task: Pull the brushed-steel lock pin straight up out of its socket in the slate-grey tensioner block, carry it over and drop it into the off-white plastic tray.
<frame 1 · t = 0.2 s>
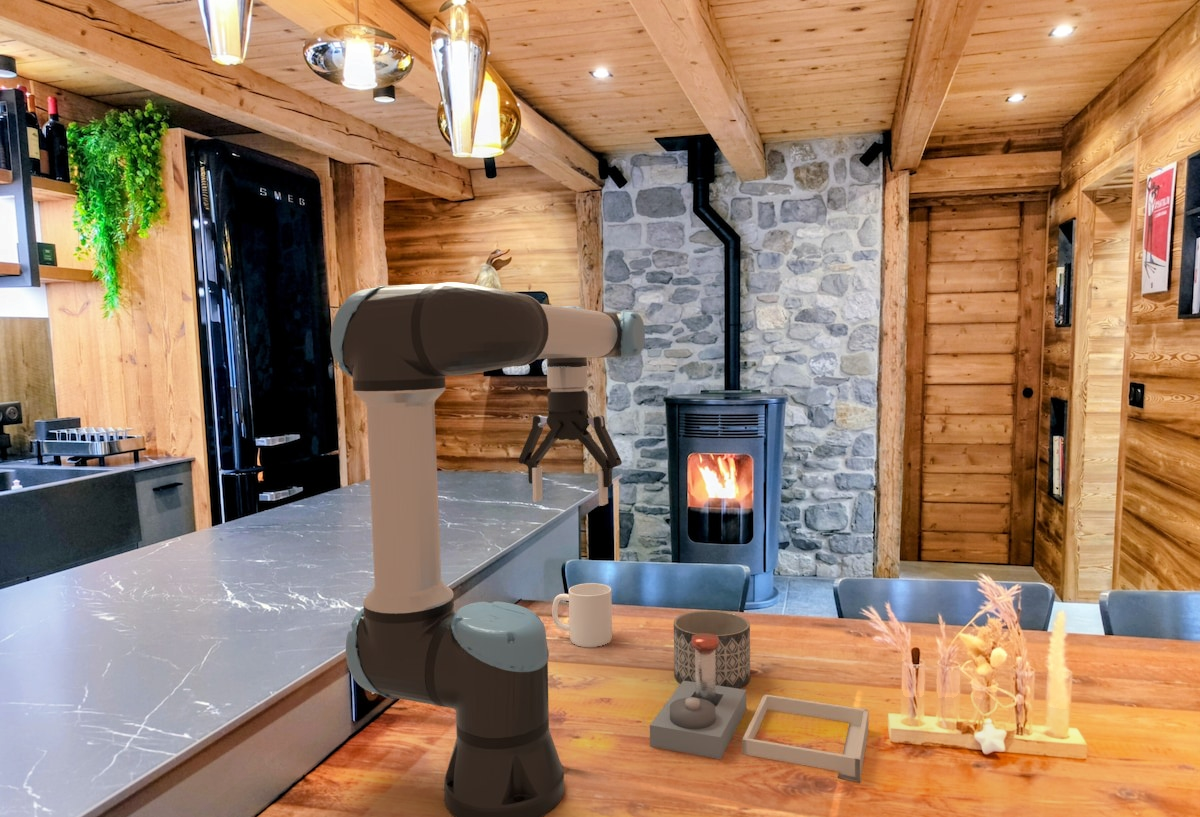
hand: (570, 502, 148), 28 cm above the table, fingers open, 13 cm apart
tensioner block: (700, 733, 115), on the table
tray: (807, 744, 111), on the table
planter: (712, 684, 132), on the table
cup: (581, 640, 154), on the table
lock pin: (705, 717, 117), point 1 cm above the table, touching tensioner block
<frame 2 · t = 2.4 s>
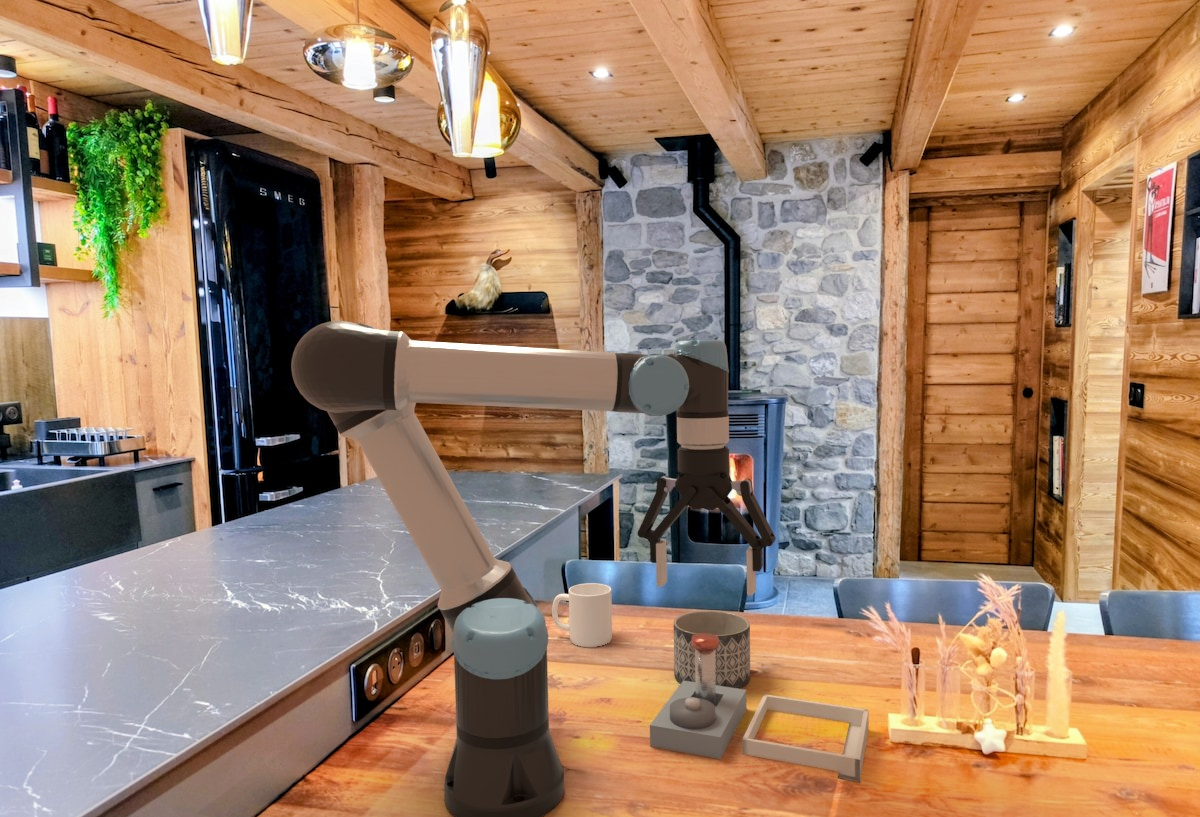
hand: (705, 588, 116), 21 cm above the table, fingers open, 13 cm apart
nothing on the table moved.
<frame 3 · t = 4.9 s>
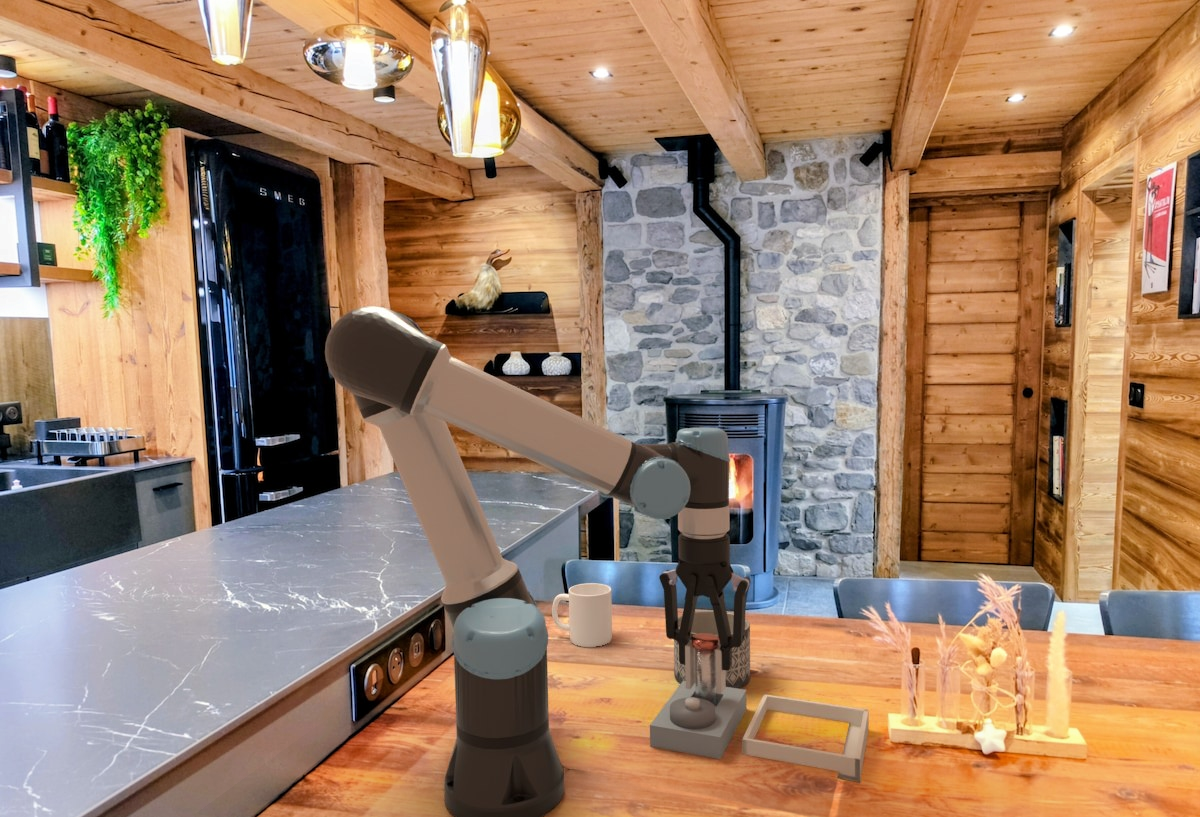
hand: (705, 687, 117), 6 cm above the table, fingers closed on lock pin, 4 cm apart
lock pin: (705, 717, 117), point 1 cm above the table, touching gripper, tensioner block
everything else where it was.
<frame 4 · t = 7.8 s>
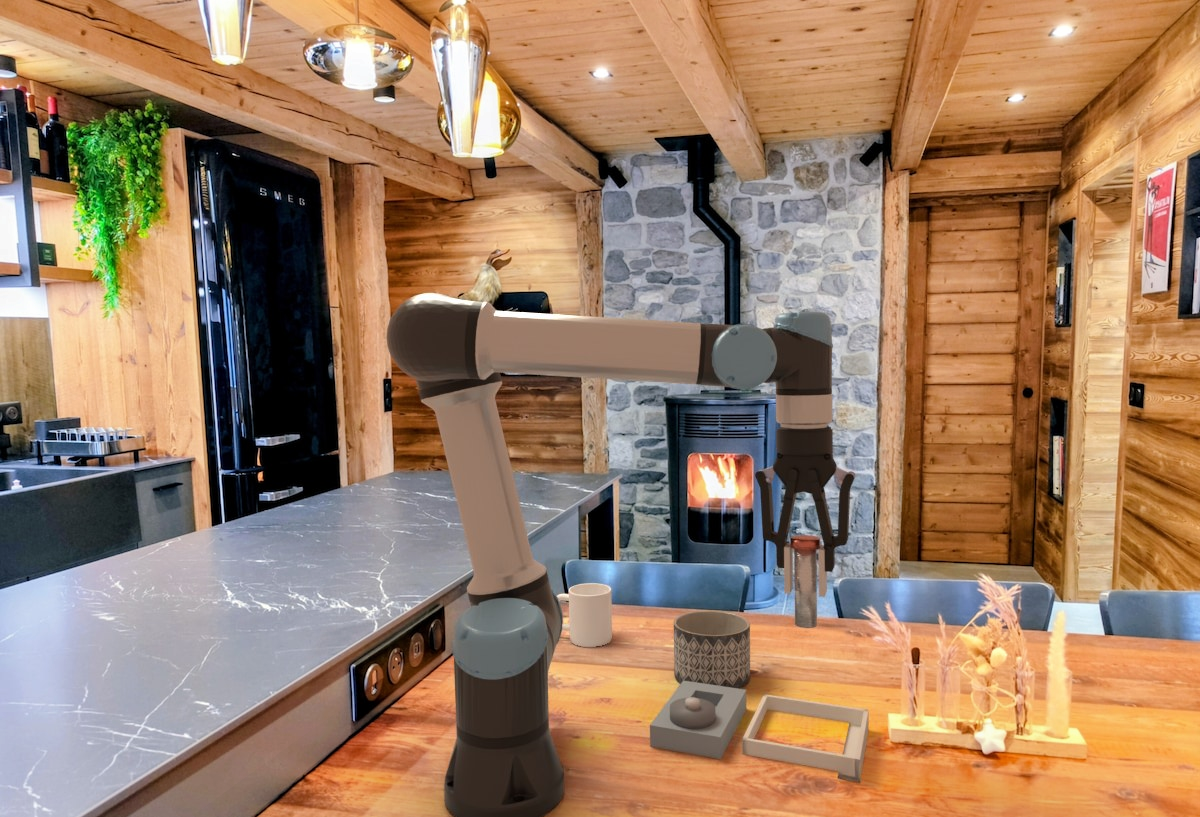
hand: (805, 592, 110), 22 cm above the table, fingers closed on lock pin, 4 cm apart
lock pin: (806, 624, 110), point 17 cm above the table, touching gripper
everything else where it was.
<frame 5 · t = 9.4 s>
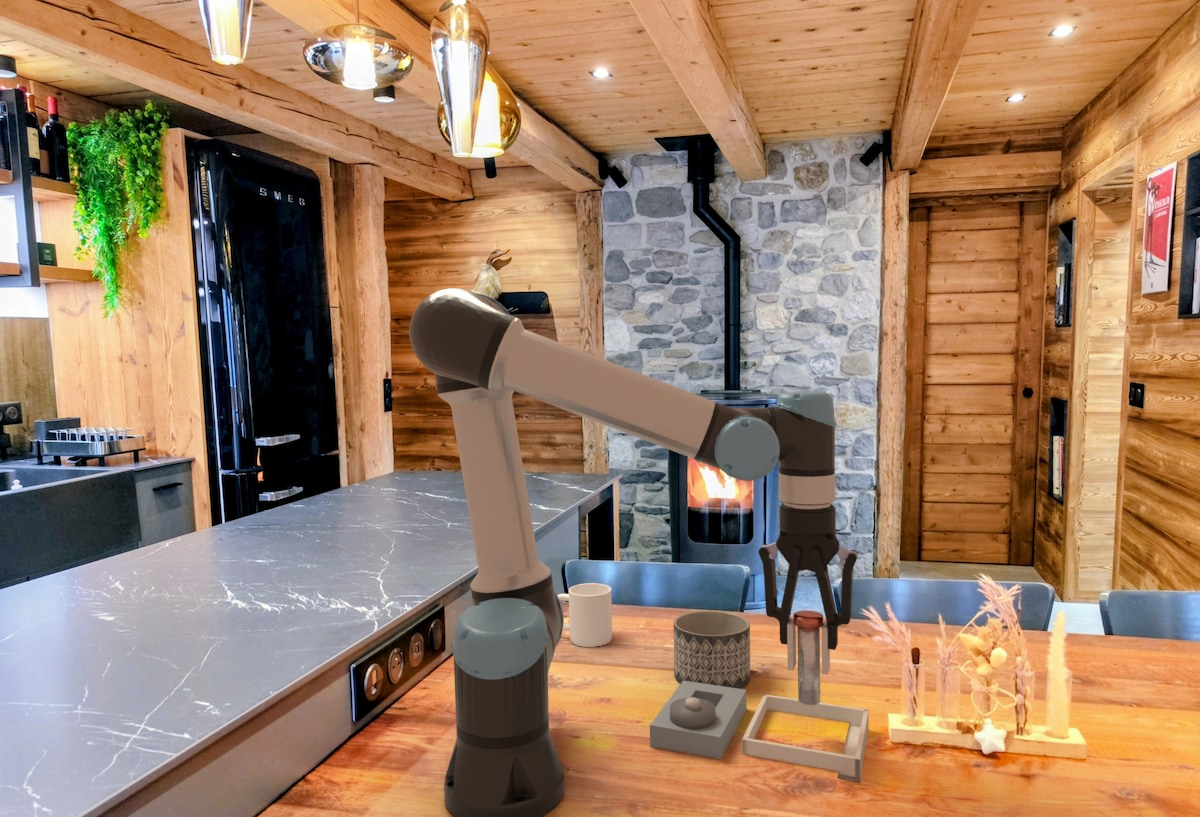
hand: (808, 668, 110), 11 cm above the table, fingers closed on lock pin, 4 cm apart
lock pin: (809, 700, 110), point 6 cm above the table, touching gripper
everything else where it was.
when the fingers open (7 cm above the table, at t = 10.7 s): lock pin drops 2 cm, resting on tray.
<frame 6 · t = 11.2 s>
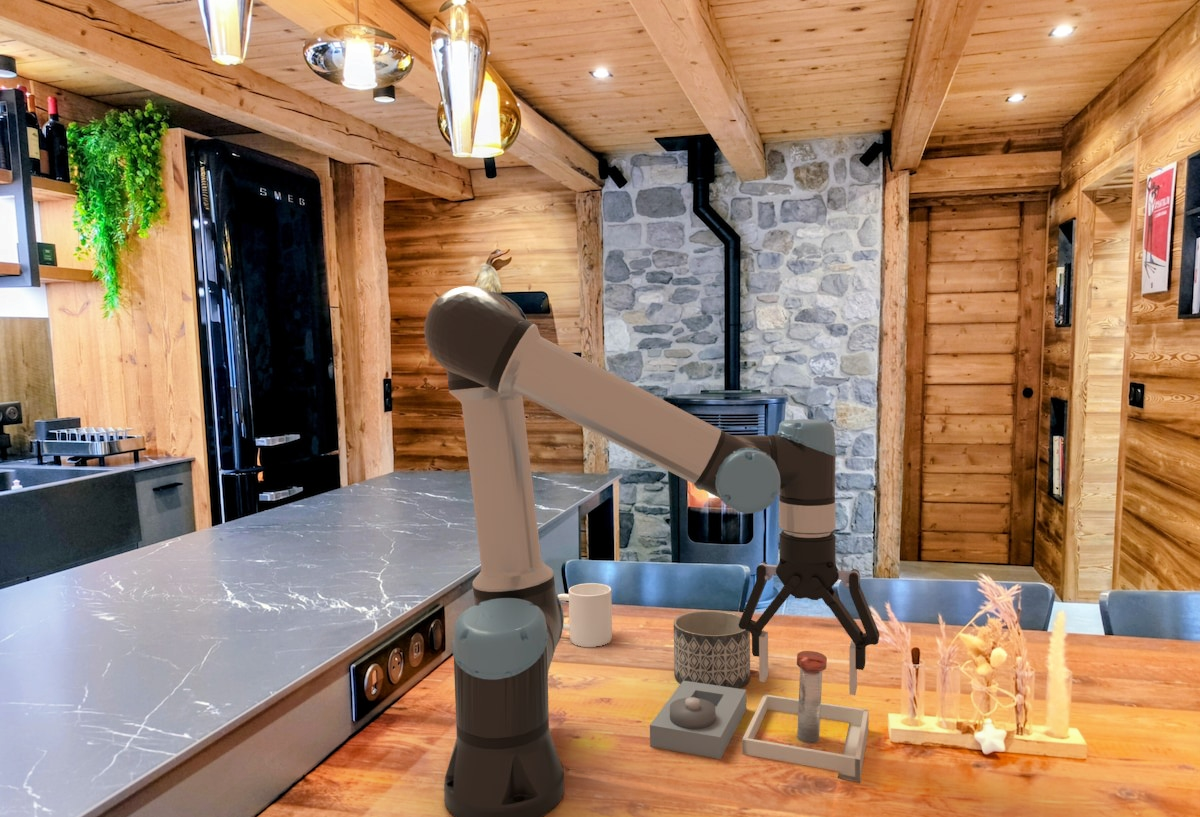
hand: (807, 684, 110), 9 cm above the table, fingers open, 11 cm apart
lock pin: (808, 739, 111), point 1 cm above the table, touching tray
everything else where it was.
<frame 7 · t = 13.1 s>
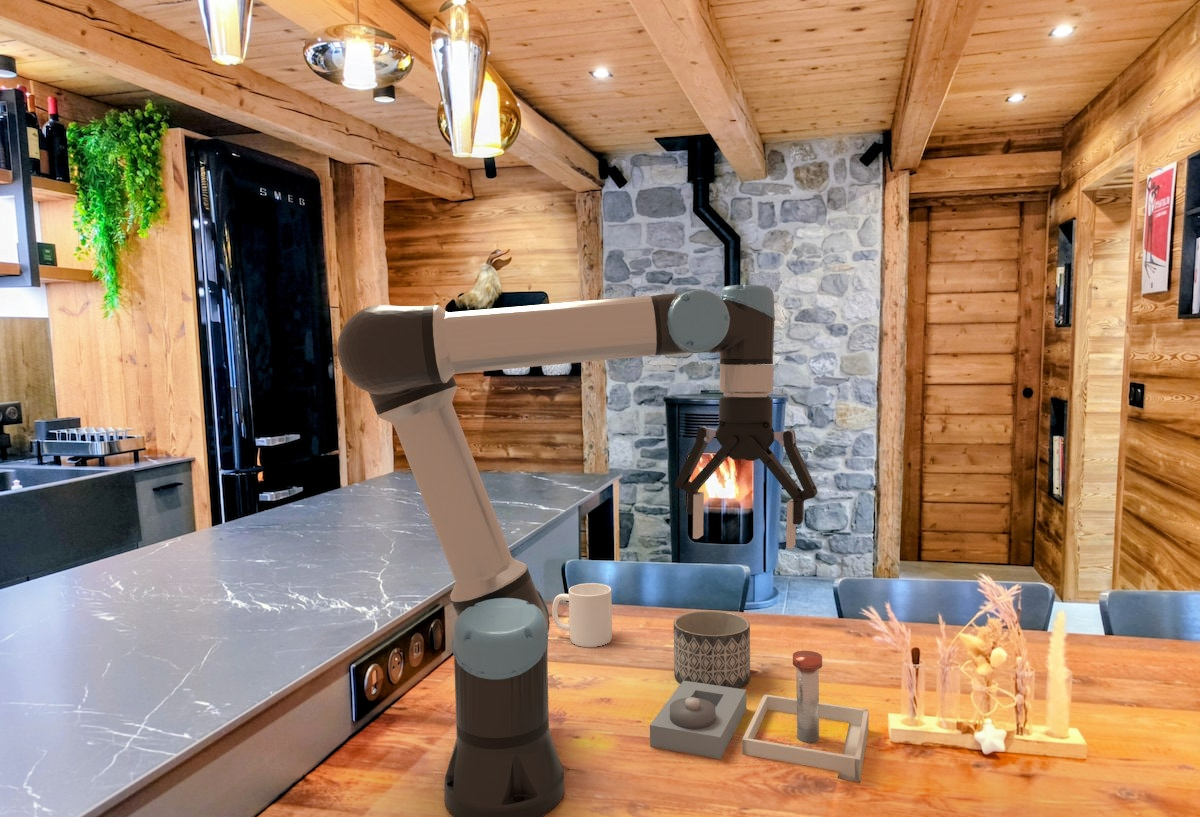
hand: (743, 541, 114), 28 cm above the table, fingers open, 13 cm apart
nothing on the table moved.
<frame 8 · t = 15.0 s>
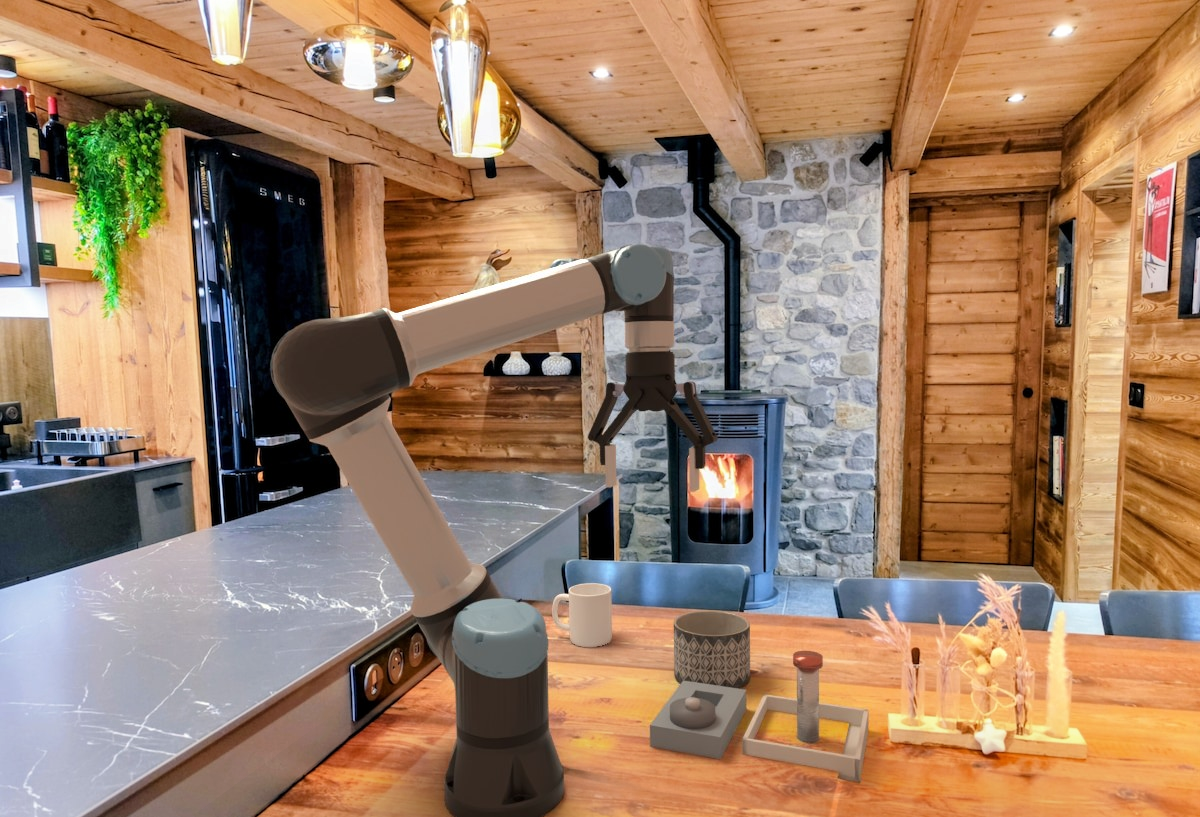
hand: (652, 488, 121), 35 cm above the table, fingers open, 13 cm apart
nothing on the table moved.
at the end: lock pin inside the target area on the tray (0.0 cm from its centre), point 0.6 cm above the tray's base; the gripper is holding nothing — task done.
